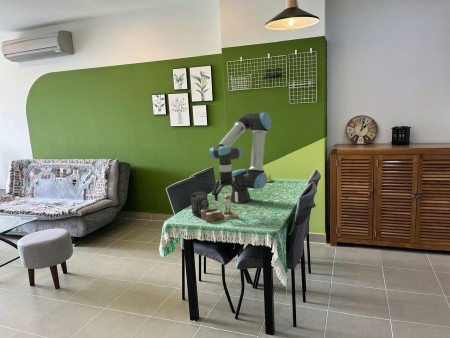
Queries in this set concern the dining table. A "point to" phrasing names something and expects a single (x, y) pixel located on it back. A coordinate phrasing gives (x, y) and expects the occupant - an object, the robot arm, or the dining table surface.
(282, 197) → the dining table surface
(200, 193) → the camera
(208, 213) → the dock block
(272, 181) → the dining table surface
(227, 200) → the lock pin
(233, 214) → the mount block
